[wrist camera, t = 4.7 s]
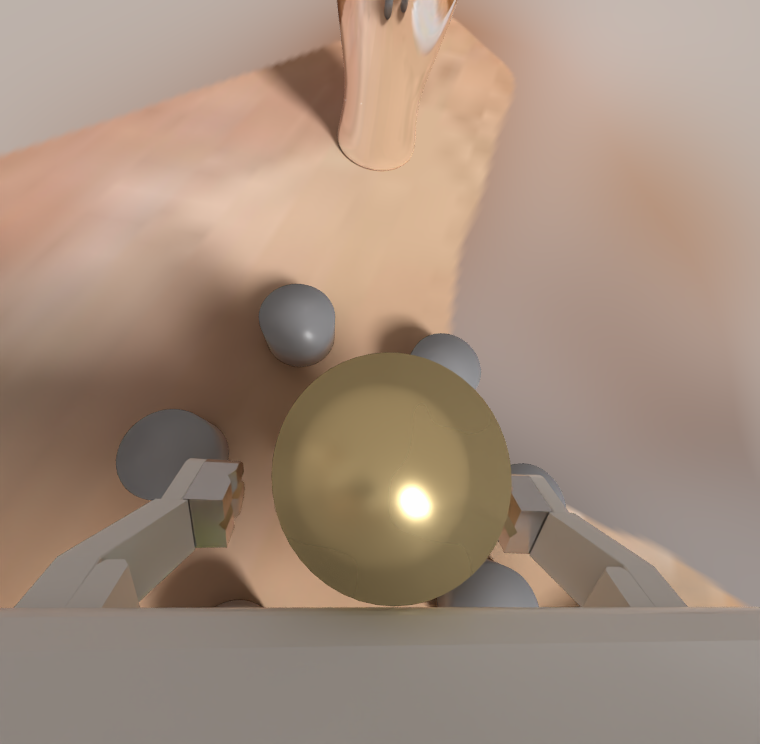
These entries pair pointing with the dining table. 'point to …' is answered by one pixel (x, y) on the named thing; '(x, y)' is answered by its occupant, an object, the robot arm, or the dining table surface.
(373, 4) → the beer glass
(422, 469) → the gold metal cylinder
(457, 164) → the dining table surface
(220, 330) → the dining table surface
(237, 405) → the dining table surface
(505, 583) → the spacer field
